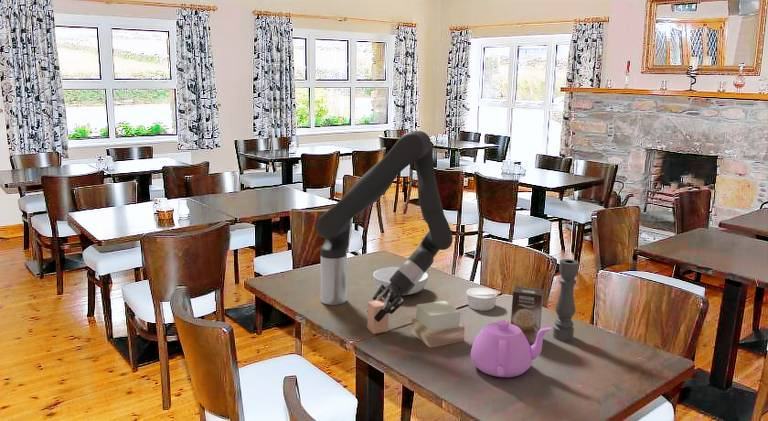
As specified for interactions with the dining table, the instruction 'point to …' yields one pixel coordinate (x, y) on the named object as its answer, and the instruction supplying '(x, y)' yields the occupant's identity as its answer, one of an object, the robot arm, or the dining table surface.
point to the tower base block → (437, 334)
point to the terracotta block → (372, 311)
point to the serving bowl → (386, 273)
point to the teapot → (505, 349)
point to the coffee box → (527, 311)
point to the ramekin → (481, 298)
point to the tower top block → (438, 315)
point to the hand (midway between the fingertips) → (372, 316)
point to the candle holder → (566, 300)
